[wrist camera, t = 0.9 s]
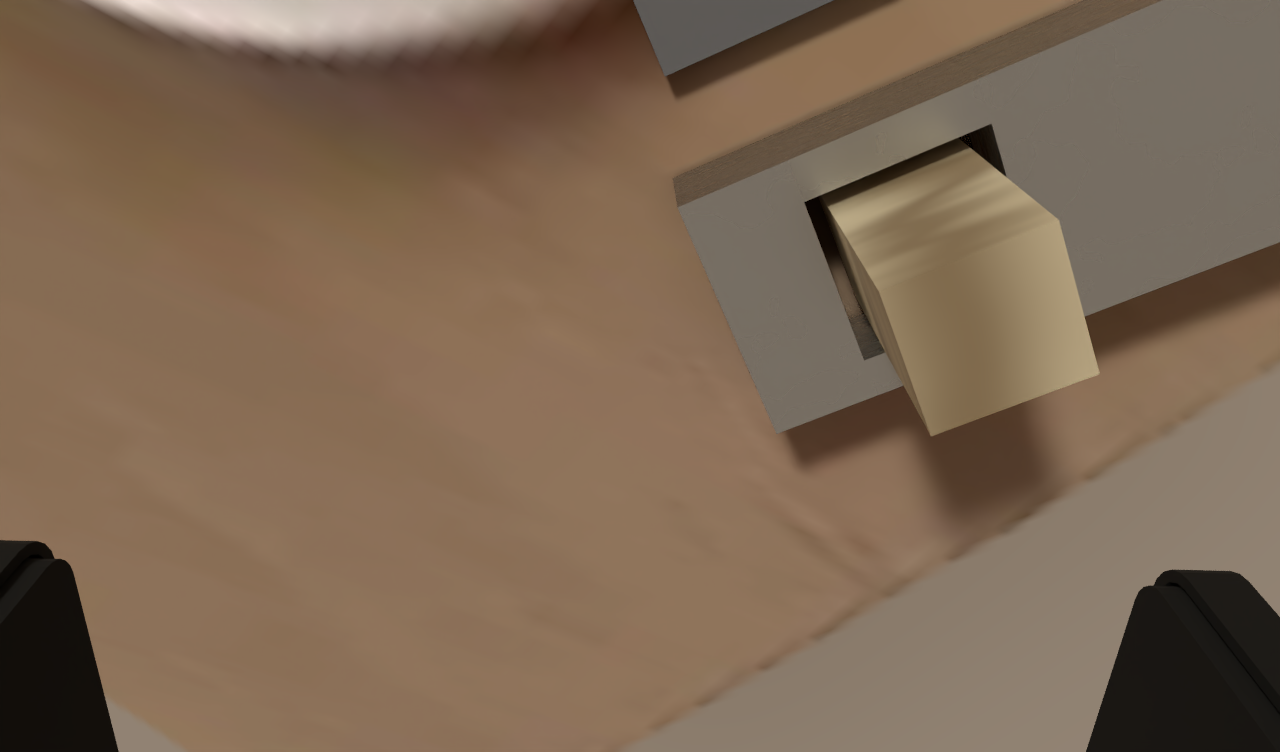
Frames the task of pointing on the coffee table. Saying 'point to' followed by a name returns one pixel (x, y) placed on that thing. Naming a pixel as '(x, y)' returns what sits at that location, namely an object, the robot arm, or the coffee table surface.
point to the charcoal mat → (710, 25)
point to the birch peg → (961, 284)
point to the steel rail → (1010, 175)
